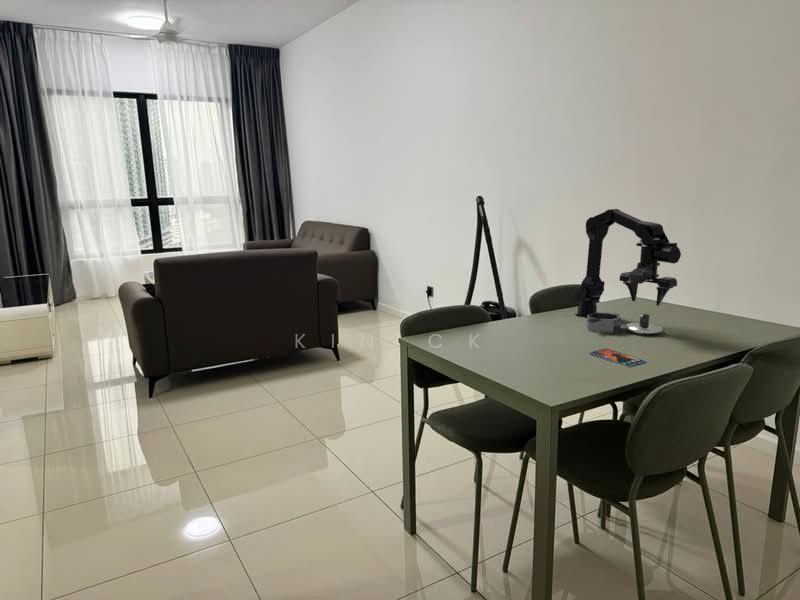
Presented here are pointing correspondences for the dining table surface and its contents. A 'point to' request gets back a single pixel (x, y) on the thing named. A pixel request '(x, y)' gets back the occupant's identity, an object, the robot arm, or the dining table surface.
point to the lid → (644, 326)
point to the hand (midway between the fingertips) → (645, 303)
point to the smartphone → (617, 357)
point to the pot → (604, 322)
